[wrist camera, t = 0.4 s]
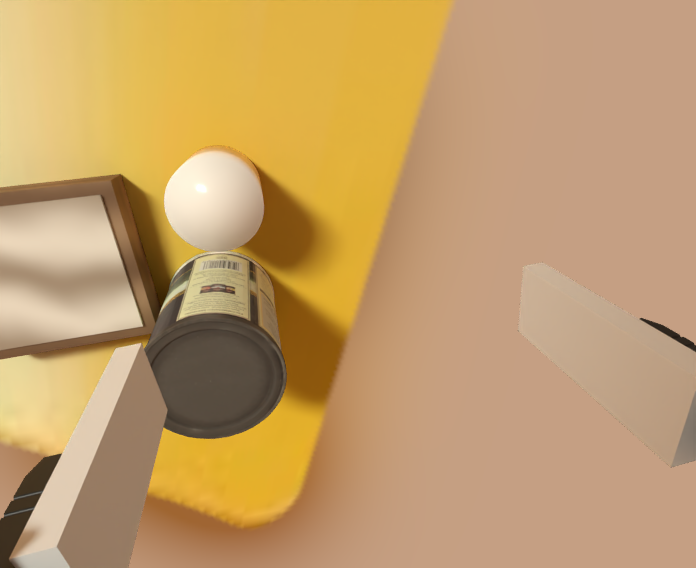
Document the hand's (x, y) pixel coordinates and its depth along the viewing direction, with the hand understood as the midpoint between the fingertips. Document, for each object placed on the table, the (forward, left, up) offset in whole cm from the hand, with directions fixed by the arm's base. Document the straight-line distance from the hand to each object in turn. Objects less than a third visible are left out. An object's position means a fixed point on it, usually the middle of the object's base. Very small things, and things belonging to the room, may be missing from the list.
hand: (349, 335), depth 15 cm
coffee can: (+10, -8, -28) cm, 31 cm away
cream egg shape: (-1, -6, -28) cm, 28 cm away
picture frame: (+4, -21, -28) cm, 35 cm away
